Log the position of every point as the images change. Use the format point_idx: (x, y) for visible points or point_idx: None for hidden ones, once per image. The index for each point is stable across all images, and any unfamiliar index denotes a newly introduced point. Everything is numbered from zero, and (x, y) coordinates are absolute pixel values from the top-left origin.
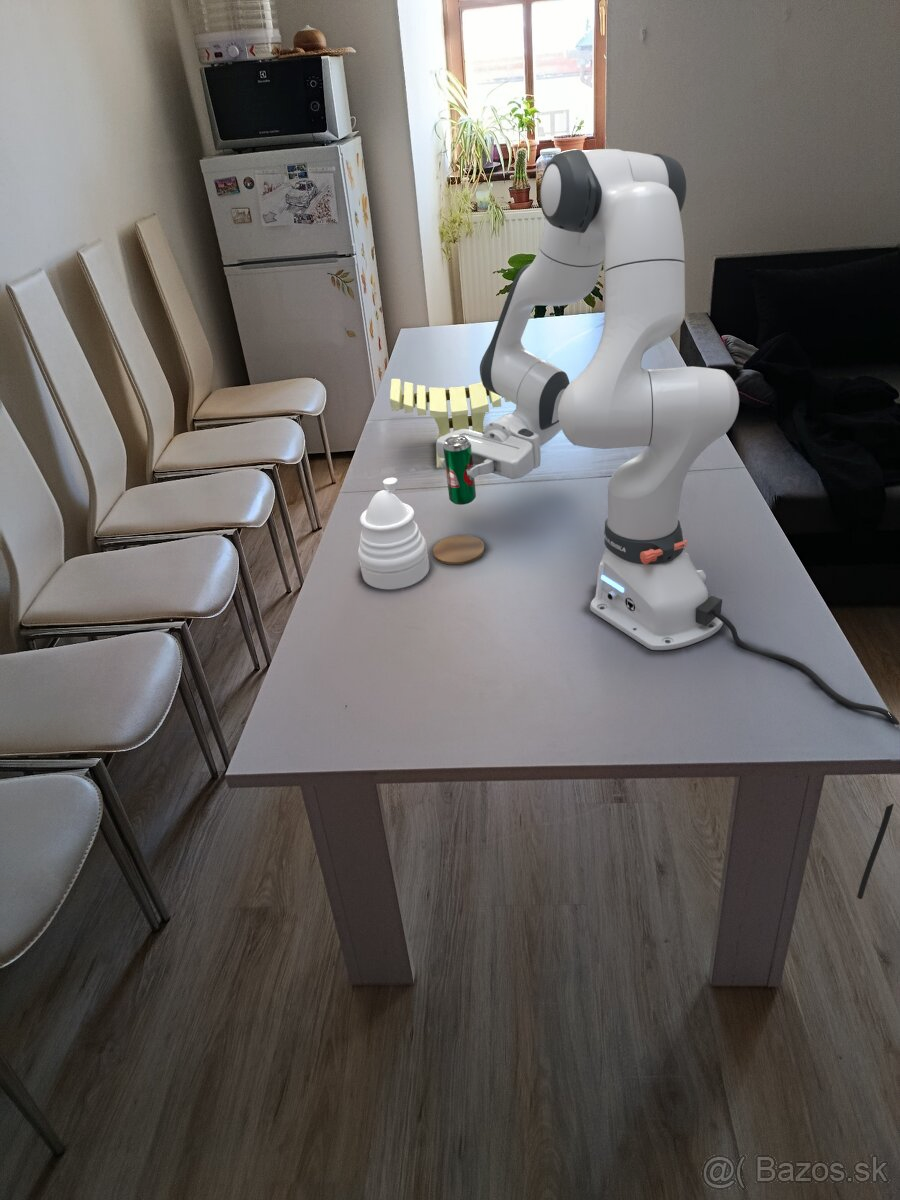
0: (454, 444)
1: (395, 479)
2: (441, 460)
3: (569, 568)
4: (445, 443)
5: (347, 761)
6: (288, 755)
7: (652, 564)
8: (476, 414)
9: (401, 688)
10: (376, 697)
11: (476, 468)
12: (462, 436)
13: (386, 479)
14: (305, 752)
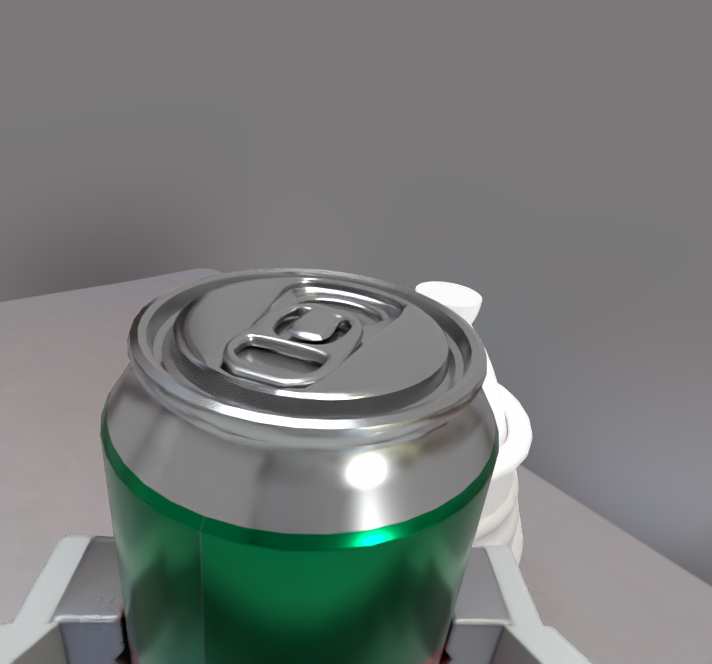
0: (260, 281)
1: (442, 302)
2: (504, 548)
3: None
4: (374, 280)
5: (99, 289)
6: (176, 281)
7: None
8: None
9: (90, 353)
10: (122, 336)
11: (31, 597)
12: (347, 423)
13: (474, 296)
14: (159, 285)
